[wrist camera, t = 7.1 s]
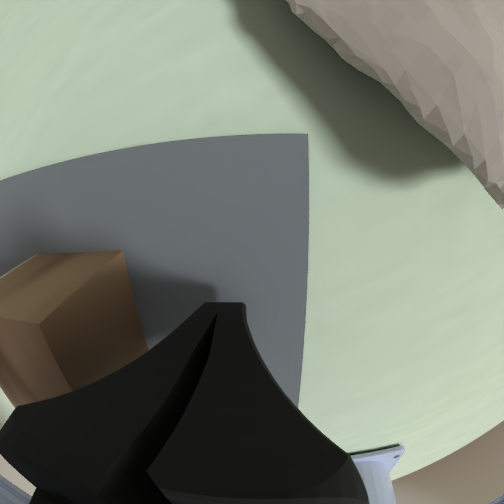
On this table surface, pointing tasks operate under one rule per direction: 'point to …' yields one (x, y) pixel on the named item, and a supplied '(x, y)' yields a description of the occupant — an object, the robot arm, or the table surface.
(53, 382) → the cube
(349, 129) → the table surface
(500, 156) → the rock
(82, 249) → the mat
